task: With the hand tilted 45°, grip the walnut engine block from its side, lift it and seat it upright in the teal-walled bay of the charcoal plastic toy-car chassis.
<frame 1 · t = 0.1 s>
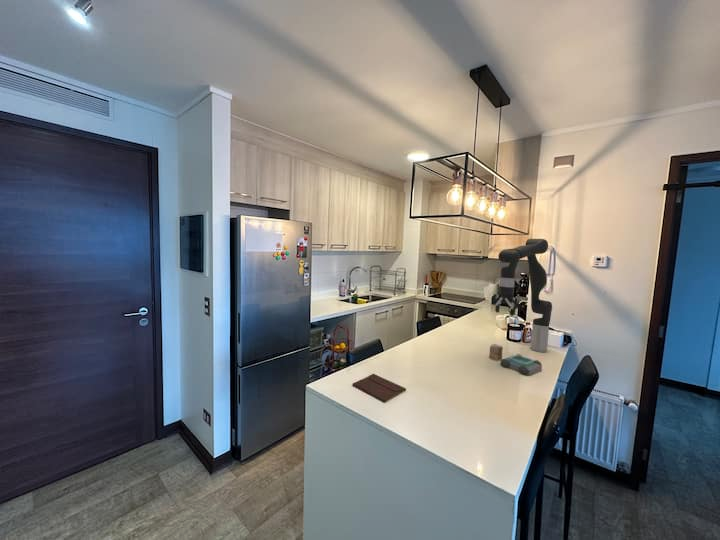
hand: (504, 313, 165), 29 cm above the worktop, tool pointing down, fingers open, 8 cm apart
notebook: (378, 389, 134), on the worktop
chassis: (520, 367, 163), on the worktop
engine block: (495, 358, 175), on the worktop
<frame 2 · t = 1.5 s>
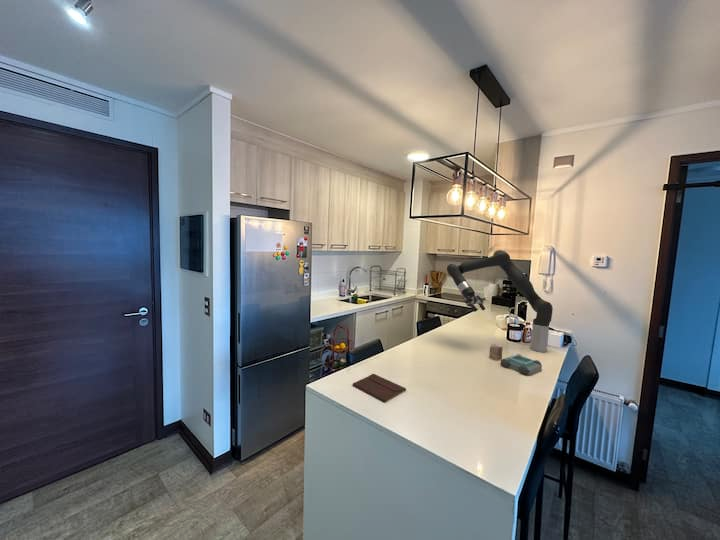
hand: (480, 310, 183), 27 cm above the worktop, tool tilted 45°, fingers open, 8 cm apart
nothing on the worktop moved.
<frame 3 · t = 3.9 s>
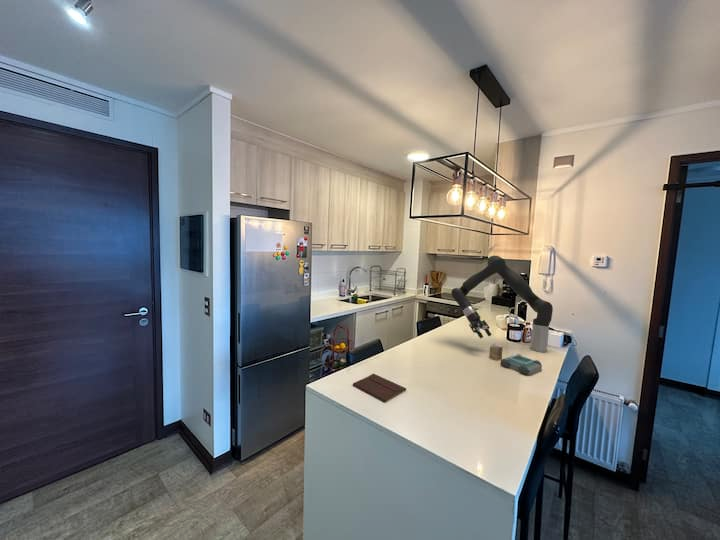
hand: (486, 336, 180), 11 cm above the worktop, tool tilted 45°, fingers open, 8 cm apart
nothing on the worktop moved.
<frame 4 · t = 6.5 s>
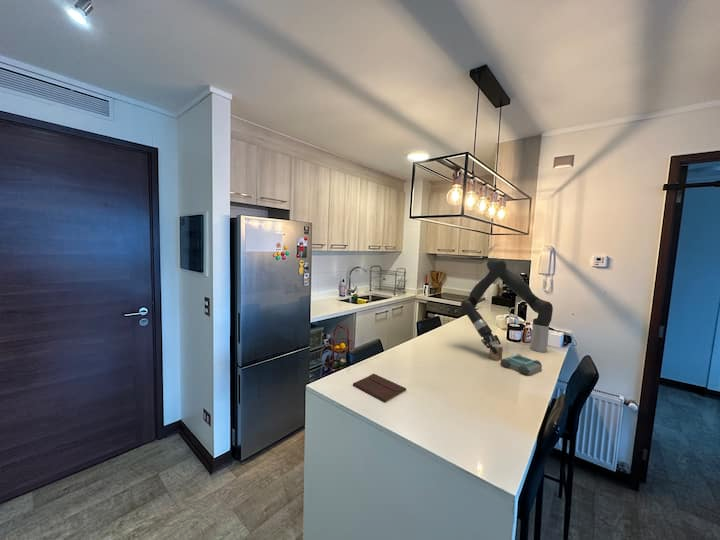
hand: (498, 352, 173), 4 cm above the worktop, tool tilted 45°, fingers closed on engine block, 5 cm apart
engine block: (495, 358, 175), on the worktop, touching gripper
everything else where it was.
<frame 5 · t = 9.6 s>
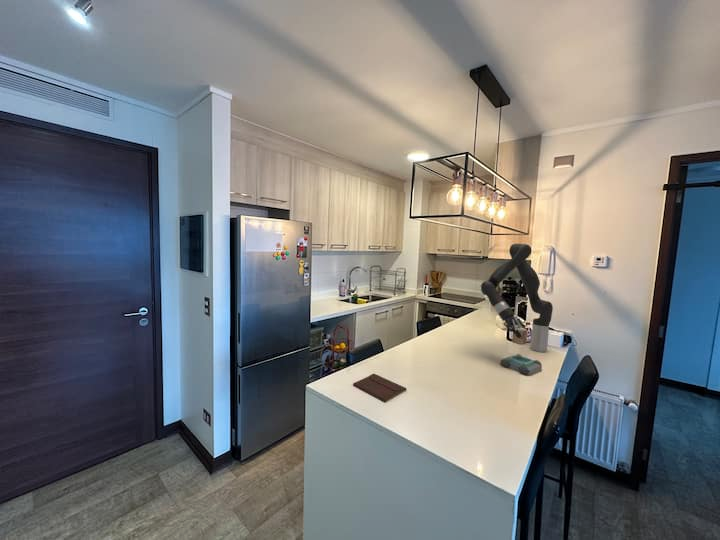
hand: (522, 336, 162), 18 cm above the worktop, tool tilted 45°, fingers closed on engine block, 5 cm apart
engine block: (518, 342, 164), point 14 cm above the worktop, touching gripper
everything else where it was.
when the fingers open (9 cm above the worktop, at t = 12.6 s): engine block drops 1 cm, resting on chassis.
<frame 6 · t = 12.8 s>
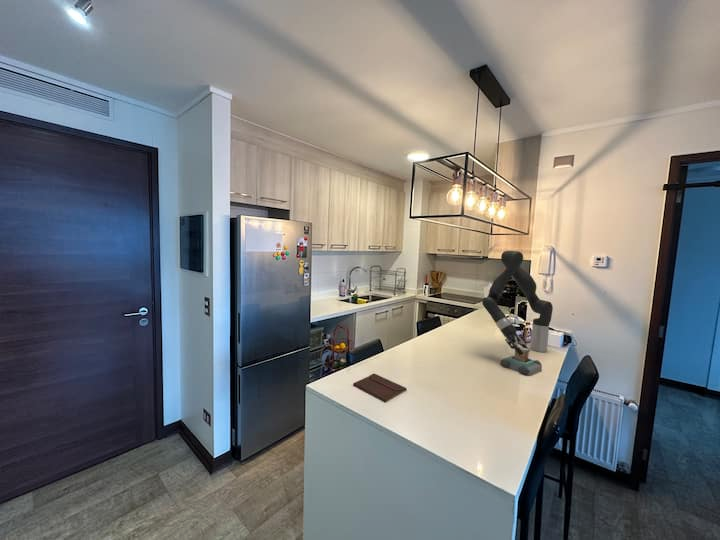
hand: (524, 353, 161), 9 cm above the worktop, tool tilted 45°, fingers open, 6 cm apart
engine block: (520, 362, 163), point 3 cm above the worktop, touching chassis
everything else where it was.
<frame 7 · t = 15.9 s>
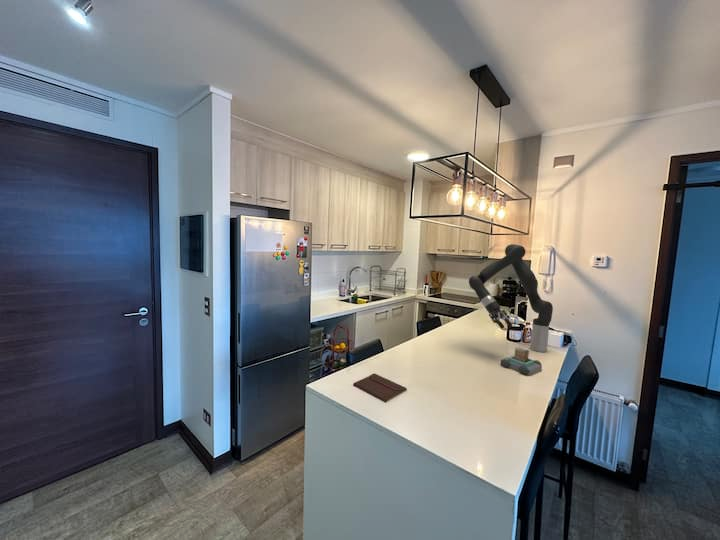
hand: (507, 327, 170), 20 cm above the worktop, tool tilted 45°, fingers open, 8 cm apart
nothing on the worktop moved.
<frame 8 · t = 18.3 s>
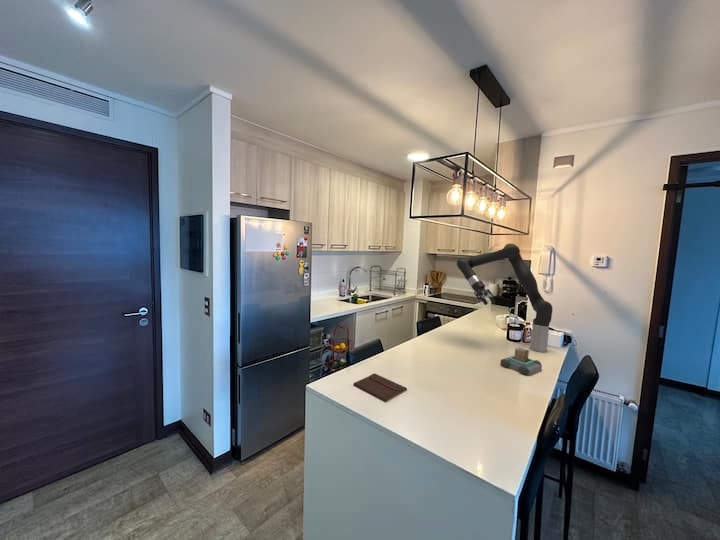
hand: (490, 303, 186), 31 cm above the worktop, tool tilted 45°, fingers open, 8 cm apart
nothing on the worktop moved.
at the end: engine block 0.1 cm off-centre on the chassis, point 3.0 cm above the chassis's base; engine block tilted 0°; the gripper is holding nothing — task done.
